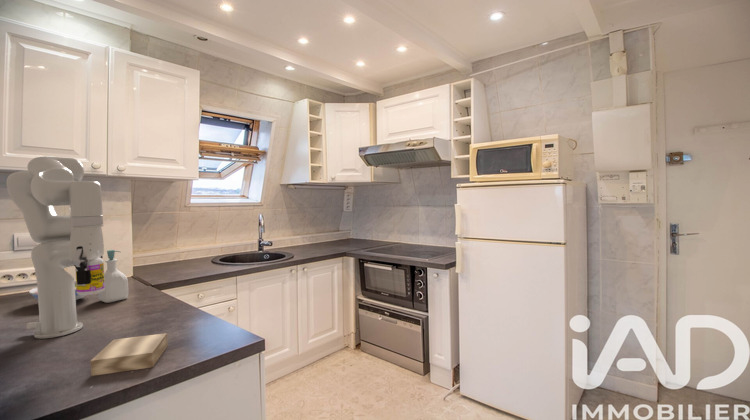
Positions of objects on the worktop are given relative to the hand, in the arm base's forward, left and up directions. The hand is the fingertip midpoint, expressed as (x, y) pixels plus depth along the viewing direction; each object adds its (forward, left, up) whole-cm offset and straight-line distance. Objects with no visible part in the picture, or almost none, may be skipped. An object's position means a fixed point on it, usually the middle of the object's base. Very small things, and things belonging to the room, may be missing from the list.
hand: (90, 280), depth 106 cm
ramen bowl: (-37, +63, -21) cm, 76 cm away
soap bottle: (-17, +59, -21) cm, 65 cm away
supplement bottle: (0, 0, -4) cm, 4 cm away
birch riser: (+14, -12, -21) cm, 28 cm away
